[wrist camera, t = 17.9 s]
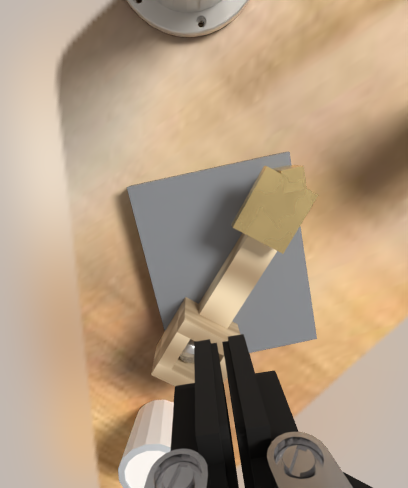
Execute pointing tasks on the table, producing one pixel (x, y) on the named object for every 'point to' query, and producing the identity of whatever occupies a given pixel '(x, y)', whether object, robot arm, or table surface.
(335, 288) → the table surface
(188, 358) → the pintle
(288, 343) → the board
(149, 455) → the white cylinder
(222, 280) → the link
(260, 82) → the table surface
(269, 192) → the block
